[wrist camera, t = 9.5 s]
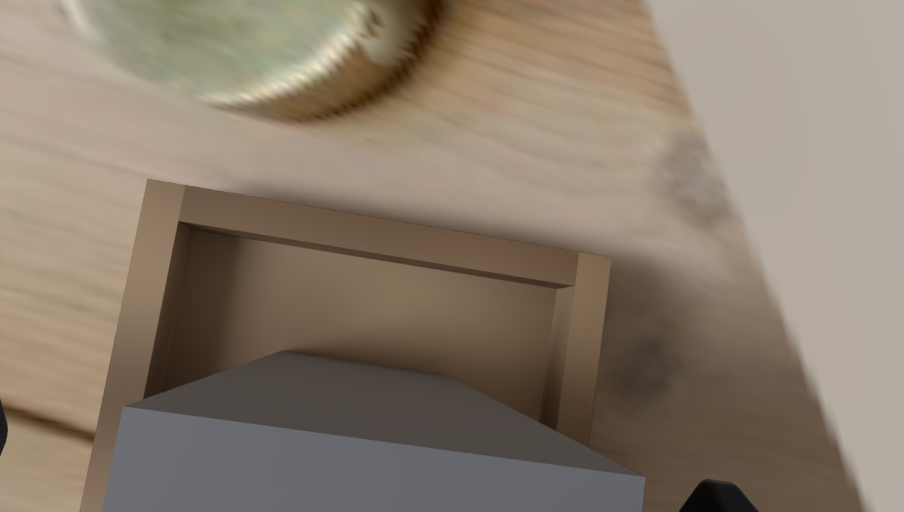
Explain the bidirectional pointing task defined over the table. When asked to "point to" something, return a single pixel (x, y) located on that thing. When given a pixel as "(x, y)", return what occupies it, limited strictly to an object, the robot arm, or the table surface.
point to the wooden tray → (348, 306)
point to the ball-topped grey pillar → (350, 447)
